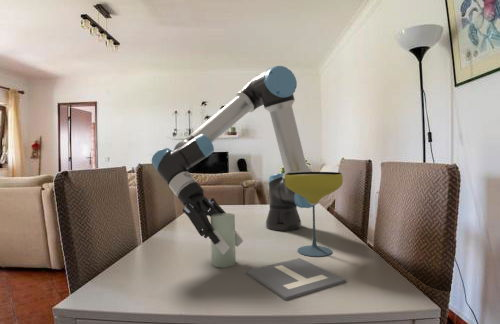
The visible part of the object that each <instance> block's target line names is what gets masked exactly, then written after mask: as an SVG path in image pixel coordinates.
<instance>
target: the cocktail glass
mask: <svg viewBox="0 0 500 324" xmlns="http://www.w3.org/2000/svg"><path fill="white" fill-rule="evenodd" d="M343 180H344V179H343V173H341V172H334V171H312V172H296V173H287V174H285V185H286V186H287V187H288V188H289V189H290V190H291V191H293V192H295V193H297V194H299V195H301V196H302V197H304V198H306V199H307V201H308V202H309V203H310V204H311V205H313V207H312V242H311V243H312V244H311V245H303V246H300V247H299V248H297V252H298V254H300V255H303V256H305V257H312V258H321V257H327V256H330V255H331V254H332V253H333V251H332V249H331V248H329V247H326V246H321V245H318V244H317V239H316V218H315V217H316V214H315V213H316V210H315V206H317V205H318V204H319V202H320V201H321V199H323V198H325V197H326V196H328V195H331V194H332V193H335V192H336V191H337V190H339V189H340V188H341V186H342V185H343Z"/></svg>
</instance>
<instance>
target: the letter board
mask: <svg viewBox="0 0 500 324" xmlns="http://www.w3.org/2000/svg"><path fill="white" fill-rule="evenodd" d="M245 274H247V275H248V276H250V277H251V278H252V279H254V280H255V281H257V282H258V283H260V284H261V285H263V286H264V287H265V288H267V289H268V290H270V291H271V292H273V293H274V294H276V295H277V296H278V297H280V298H282V300H284V301H286V300H290V299H294V298H297V297H300V296H303V295H306V294H307V295H308V294H311V293H313V292H317V291H320V290H323V289H326V288H329V287H333V286H337V285H339V284H343V283H347V279H346V278H344V277H343V276H340V275H337V274H336V273H334V272H331V271H329V270H327V269H324V268H322V267H320V266H318V265H315V264H313V263H311V262H310V261H307V260H305V259H303V258H300V257H299V258H296V259H290V260H286V261H282V262H278V263H274V264H273V263H272V264H268V265H264V266H259V267H255V268H251V269H248V270H247V269H246V270H245Z"/></svg>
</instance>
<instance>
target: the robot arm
mask: <svg viewBox="0 0 500 324" xmlns="http://www.w3.org/2000/svg"><path fill="white" fill-rule="evenodd" d="M297 85H298V84H297V78H296V75H295V74H294V73H293V71H292V70H291V69H289V68H288V67H286V66H284V65H276V66H272V67H269V68H268V69H266V70H264V71H263V72H261V73H259V74H257V75H255V76H254V77H252V79H251V80H250V81H248V83H247V84H246V85H244V87H242V89H241V90H239V91H238V92H237V93H236V97H235V98H233V99H232V100H231V101H229V103H227V104H226V105H225V106H224V107H222V108H221V109H220V110H219V111H217V112H216V113H215V114H213V116H211V117H210V118H209V119H208V120H207V121H206V122H204V123H203V124H201V125H200V126H198V128H197V129H195V130H194V131H193V132H192V133H190V135H188V136H187V137H186V138H185V139H183V140H182V141H180V142H178V143H177V144H176V145H175V146H174V148H173V150H171V148H169V147H164V148H161V149H159V150H157V151H155V153H154V154H153V155H152V157H151V164H152V166H153V167H154V169H155V170H156V172H157V174H159V175H160V177H161V178H162V179H163V180H164V182H165V183H166V184H167V185H168V187H169V189H170V190H171V191H172V192H173V194H174V195H175V196H176V197H178V200H179V201H180V203H182V205H183V206H184V207H183V209H182V212H183V213H184V214H185V215H186V216H187V217H188V219H189V220H190V222H191V223H192V225H193V226H194V228H195V229H196V231H197V232H198V234H199V235H200V236H201V237H203V238H205V239H210V242H211V241H212V242H213V243H214V244H215V245H216V246H217V248H218V249H219V250H220V251H221V253H222V254H223V255H224V254H225V253H226V252H227V251H228V250H229V249H230V247H229V246H228V244H227V243H226V242H225V241H224V239H223V238H222V237H221V236H220V234H219V233H218V232H217V231H216V230H214V232H213V228H212V226H211V221H210V219H209V218H208V217H210V216H211V215H213V214H219V213H227V212H226V211H225V210H224V209H223V208H222V207H221V206H220V205H219V204H218V203H217V201H216V200H215V198H214V197H212V198H211V199H209V198H207V197H206V196H205V195H204V194H205V190H204V189H203V188H202V186H201V185H200V184H199V182H197V181H196V179H195V178H194V177H193V176H192V174H191V172H189V169H190V168H193V167H194V166H195V165H197V164H198V163H200V162H201V161H203V160H204V159H206V158H208V157H209V156H210V155H212V154H213V153H214V151H215V148H214V144H213V143H214V142H215V141H216V140H217V139H218V138H219V137H221V136H222V135H223V134H224V133H226V131H228V130H229V129H231V127H233V125H235V124H236V123H237V122H238V121H239V120H240V119H242V118H243V117H244V116H246V114H248V113H253V112H254V111H255V110H256V109H258V108H259V107H262V106H263V107H264V109H265V110H266V111H268V112H269V116H270V118H271V122H272V126H273V130H274V133H275V139H276V142H277V146H278V150H279V153H280V157H281V158H280V159H281V161H282V166H283V169H284V172H282V173H274V174H271V175H269V178H268V195H269V197H268V198H269V199H268V201H269V210H268V213H267V217H266V221H265V228H266V229H269V230H272V231H280V232H281V231H287V232H288V231H295V230H298V229H300V228H301V227H302V220H301V218H300V215H299V212H298V208H299V209H310V208H311V209H312V208H313V205H311V204H310V203H309V202H308V201H307V199H306V198H304V197H302V196H301V195H299V194H297V193H295V192H293V191H291V190H290V189H289V188H288V187H287V186H286V185H285V174H287V173H296V172H313V170H312V168H310V167H308V166H307V163H306V162H307V161H306V159H305V153H304V151H303V147H302V141H301V137H300V135H299V129H298V126H297V121H296V118H295V113H294V109H293V105H294V103H295V96H294V93H295V92H296V89H297ZM243 242H244V239H243V237H241V236H240V235H239V233H238V232H237V231H236V230H235V247H236V248H238V247H239V246H240V245H241V244H242V243H243Z"/></svg>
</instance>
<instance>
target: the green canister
mask: <svg viewBox="0 0 500 324" xmlns="http://www.w3.org/2000/svg"><path fill="white" fill-rule="evenodd" d="M209 217H210V224H211V226H212V228H213V232H214V230H216V231H217V232H218V233H219V234H220V236H221V237H222V238H223V239H224V241H225V242H226V243H227V244H228V246H229V247H230V249H229V250H228V251H227V252H226V253H225V254H224V255H223V254H222V253H221V251H220V250H219V249H218V248H217V246H216V245H215V244H214V243H213V242H212V241H211V240H210V246H211V247H210V248H211V265H212V267H215V268H219V269H220V268H223V269H224V268H229V267H233V266H235V265H236V263H237V261H236V260H237V258H236V257H237V256H236V251H237V250H236V245H235V231H236V226H235V225H236V221H235V220H236V218H235V214H234V213H230V212H226V213H219V214H213V215H211V216H209Z"/></svg>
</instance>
